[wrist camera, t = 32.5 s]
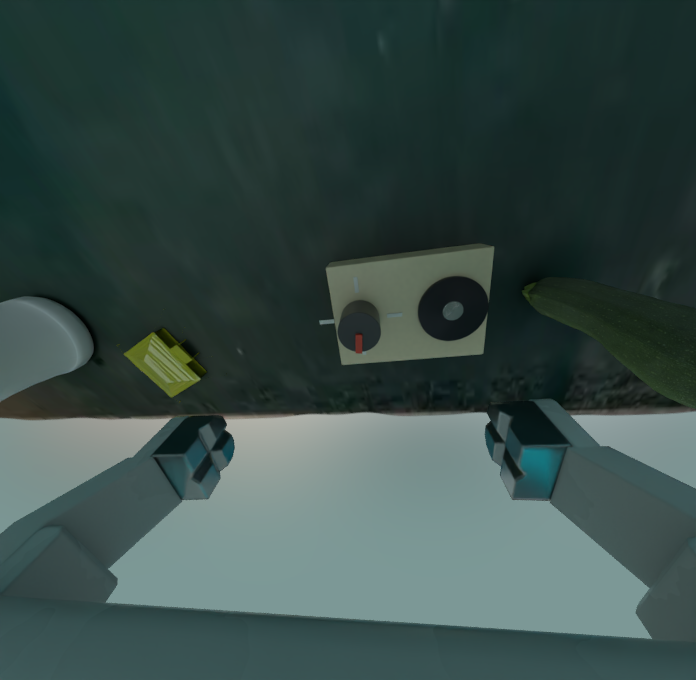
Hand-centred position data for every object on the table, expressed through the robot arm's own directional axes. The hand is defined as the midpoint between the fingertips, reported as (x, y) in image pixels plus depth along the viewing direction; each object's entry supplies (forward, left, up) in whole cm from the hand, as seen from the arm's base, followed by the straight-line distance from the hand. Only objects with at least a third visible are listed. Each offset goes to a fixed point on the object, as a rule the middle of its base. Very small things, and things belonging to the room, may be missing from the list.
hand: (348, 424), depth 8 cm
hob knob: (0, +3, -17) cm, 17 cm away
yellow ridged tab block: (+24, +7, -20) cm, 32 cm away
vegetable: (-17, +3, -20) cm, 26 cm away
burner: (-8, +3, -17) cm, 19 cm away
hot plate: (-4, +3, -20) cm, 20 cm away
